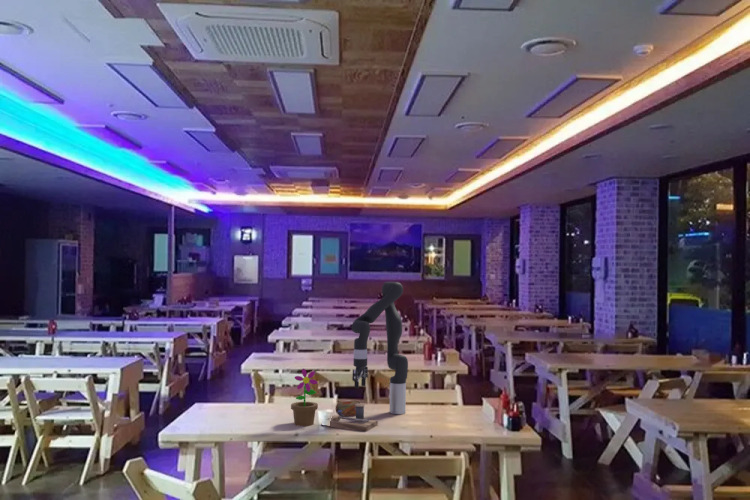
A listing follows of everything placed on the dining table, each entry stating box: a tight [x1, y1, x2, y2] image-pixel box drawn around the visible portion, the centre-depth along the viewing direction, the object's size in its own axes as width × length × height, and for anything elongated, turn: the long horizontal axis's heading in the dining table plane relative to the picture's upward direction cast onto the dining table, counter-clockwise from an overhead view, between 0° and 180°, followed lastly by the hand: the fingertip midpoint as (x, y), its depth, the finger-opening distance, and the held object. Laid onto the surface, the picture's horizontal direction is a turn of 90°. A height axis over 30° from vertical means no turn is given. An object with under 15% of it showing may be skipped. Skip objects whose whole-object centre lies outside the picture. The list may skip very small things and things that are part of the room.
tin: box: [335, 399, 361, 417], centre depth 369 cm, size 15×3×8 cm, turn 112°
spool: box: [355, 402, 366, 423], centre depth 357 cm, size 5×5×9 cm
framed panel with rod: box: [330, 414, 379, 432], centre depth 347 cm, size 14×26×2 cm, turn 65°
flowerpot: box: [290, 368, 319, 427], centre depth 349 cm, size 14×14×30 cm
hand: (360, 387), depth 358 cm, fingers open, 8 cm apart
